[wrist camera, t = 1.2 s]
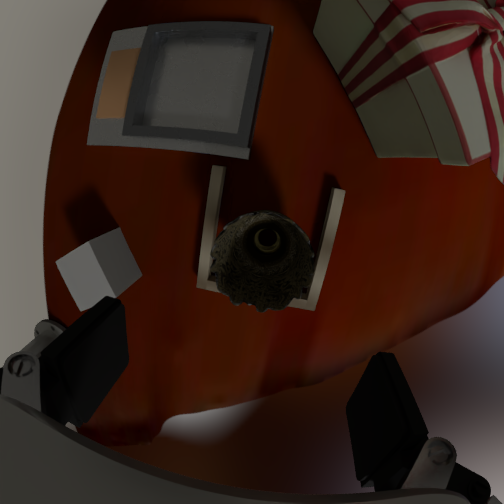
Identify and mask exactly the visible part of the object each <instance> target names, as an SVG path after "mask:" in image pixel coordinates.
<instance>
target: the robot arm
mask: <svg viewBox="0 0 504 504" xmlns="http://www.w3.org/2000/svg"><path fill="white" fill-rule="evenodd" d="M34 334H35V339H34V340H32V341H31V342H30V343H29V344H28V345H26V346H25V347H24V348H23V349H22V350H21V351H19V352H16V353H14V354H12V355H10V356H9V357H8V358H7V360H6V361H5V364H4V366H3V367H2V368H0V504H502V503H501V502H500V501H499V500H498V499H497V498H496V497H495V496H494V495H493V496H491V497H490V494H491V488H490V485H489V483H488V481H487V480H486V479H485V478H483V477H482V476H480V475H478V474H476V473H475V472H472V471H471V470H469V469H467V468H465V467H463V466H462V465H460V464H458V463H456V457H457V454H456V450H455V448H454V446H453V445H452V444H451V443H450V442H449V441H448V440H446V439H444V438H442V437H433V438H430V439H428V437H427V434H428V433H429V432H428V430H427V427H426V425H425V422H424V420H423V418H422V415H421V413H420V410H419V408H418V406H417V403H416V401H415V399H414V397H413V394H412V392H411V390H410V387H409V385H408V383H407V381H406V379H405V377H404V374H403V372H402V370H401V368H400V366H399V364H398V362H397V360H396V358H395V355H394V354H393V353H387V352H378V353H377V354H376V355H373V356H372V358H371V359H370V362H369V363H368V366H367V368H366V370H365V371H364V374H363V375H362V377H361V379H360V381H359V383H358V385H357V387H356V388H355V390H354V392H353V394H352V396H351V397H350V399H349V401H348V403H347V406H346V415H347V420H348V426H349V432H350V438H351V444H352V450H353V457H354V464H355V471H356V477H357V480H359V481H360V482H361V487H373V486H374V489H375V492H370V493H356V494H355V493H354V494H315V495H314V494H291V493H278V492H268V491H259V490H251V489H245V488H238V487H233V486H227V485H222V484H216V483H212V482H207V481H204V480H199V479H195V478H192V477H188V476H184V475H181V474H177V473H173V472H170V471H167V470H164V469H161V468H158V467H155V466H152V465H149V464H147V463H144V462H141V461H138V460H136V459H133V458H131V457H128V456H126V455H123V454H121V453H119V452H116V451H114V450H112V449H109V448H107V447H105V446H103V445H101V444H99V443H97V442H95V441H93V440H91V439H89V438H87V437H85V436H83V435H81V434H79V433H77V432H75V431H73V430H71V429H69V428H68V427H66V426H65V425H66V423H67V422H70V423H72V424H73V425H75V426H77V427H79V428H80V427H81V425H82V424H83V422H84V423H87V422H88V421H89V419H90V418H91V417H92V415H93V414H94V412H95V411H96V409H97V408H98V406H99V405H100V404H101V402H102V401H103V399H104V398H105V396H106V395H107V394H108V392H109V391H110V389H111V388H112V386H113V385H114V384H115V382H116V381H117V379H118V378H119V377H120V375H121V374H122V372H123V371H124V370H125V368H126V367H127V365H128V362H129V354H128V344H127V333H126V320H125V307H124V305H123V304H122V303H121V301H120V300H119V299H116V298H113V297H110V296H105V297H104V298H102V299H101V300H100V301H99V302H98V303H96V304H95V305H94V306H93V307H92V308H90V309H89V310H88V311H87V312H86V313H84V314H83V315H82V316H81V317H80V318H79V319H77V320H76V321H75V322H74V323H73V324H72V325H70V326H69V327H68V328H67V329H66V328H65V327H63V326H62V325H60V324H59V323H57V322H55V321H52V320H48V319H45V320H42V321H41V322H39V323H38V324H37V325H36V327H35V333H34Z"/></svg>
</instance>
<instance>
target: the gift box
mask: <svg viewBox="0 0 504 504" xmlns="http://www.w3.org/2000/svg"><path fill="white" fill-rule="evenodd" d="M313 34H314V36H315V37H316V39H317V41H318V42H319V44H320V46H321V47H322V49H323V50H324V52H325V53H326V55H327V57H328V58H329V60H330V62H331V64H332V65H333V67H334V69H335V71H336V72H337V74H338V76H339V79H340V80H341V82H342V84H343V86H344V88H345V90H346V92H347V94H348V96H349V98H350V100H351V101H352V103H353V105H354V107H355V109H356V111H357V113H358V115H359V117H360V119H361V121H362V124H363V126H364V128H365V130H366V132H367V135H368V137H369V139H370V141H371V144H372V146H373V148H374V151H375V153H376V155H377V157H379V158H380V157H429V158H438V159H439V162H440V163H441V164H448V165H461V166H470V165H472V164H474V163H476V162H478V161H481V160H483V159H485V158H488V157H490V164H491V169H492V170H493V172H494V173H495V175H496V176H497V178H498V179H499V180H500V181H501V182H502V183H503V184H504V0H322V1H321V5H320V9H319V12H318V16H317V19H316V23H315V26H314V30H313Z"/></svg>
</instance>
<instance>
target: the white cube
mask: <svg viewBox="0 0 504 504" xmlns="http://www.w3.org/2000/svg"><path fill="white" fill-rule="evenodd" d="M56 264H57V266H58V268H59V270H60V273H61V275H62V277H63V279H64V281H65V283H66V285H67V287H68V289H69V291H70V293H71V295H72V296H73V298H74V300H75V302H76V304H77V306H78V307H79V309H80V311H83V310H86V309H88V308H91V307H93V306H94V305H95V304H96V303H98V302H99V301H100V300H101V299H102V298H104V297H105V296H110V297H113V298H116V297H118V296H119V295H120V294H121V293H122V292H123V291H125V290H126V289H127V288H128V287H129V286H130V285H132V284H133V283H134V282H135V281H136V280H137V279H139V278H140V277H141V276H142V273H141V271H140V269H139V267H138V265H137V263H136V261H135V259H134V257H133V255H132V253H131V251H130V249H129V247H128V245H127V242H126V240H125V238H124V236H123V234H122V232H121V229H120V227H119V228H117V229H114V230H112V231H110V232H108V233H105V234H103V235H101V236H99V237H96V238H94V239H92V240H90V241H88V242H86V243H85V244H83V245H81V246H80V247H78V248H76V249H75V250H73V251H72V252H70V253H68V254H67V255H65V256H64V257H62V258H61V259H59V260H58V261H56Z"/></svg>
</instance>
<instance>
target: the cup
mask: <svg viewBox="0 0 504 504" xmlns="http://www.w3.org/2000/svg"><path fill="white" fill-rule="evenodd" d="M264 230H271V231H273V232H274V233H275V235H276V241H275V243H274V244H273V245H271V246H264V245H263V244H261V242H260V240H259V235H260V233H261V232H262V231H264ZM210 256H211V257H212V258H213V259H214V261H213V263H212V265H211V267H210V270H211V272H213V273H215V275H216V286H217V289H218V291H219V292H221V293H222V294H224V295H227V296H229V297H230V301H231V302H232V304H233V305H239V304H242V303H243V302H245V303H247V304H248V305H255V306H256V308H257V309H256V310H257V311H258V312H265V311H266V310H267V309H268V308H269V309H271V310H283V309H285V308H286V307H287V306H288V305H289V304H290V302H291V301H292V300H293V298H296V299H300V298H301V297H302V288H303V287H305V288H308V287H309V286H310V284H311V282H312V276H313V274H314V260H313V257H314V251H313V248H312V247H311V244H310V240H309V238H308V236H307V235H306V233H305V232H304V231H303V230H302V229H301V228H300V227H299V226H298V225H297V224H296V223H295V222H294V221H292V220H291V219H290V218H288V217H287V216H285V215H283V214H281V213H278V212H275V211H270V210H259V211H254V212H251V213H247V214H244V215H241V216H239V217H238V218H236V219H235V220H233V221H231V222H229V223H228V224H227V225H225V226H224V230H223V231H222V232H220V234H219V235H218V237H217V238H216V239H215V241H214V246H213V247H212V250H211V252H210ZM240 302H241V303H240Z"/></svg>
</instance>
